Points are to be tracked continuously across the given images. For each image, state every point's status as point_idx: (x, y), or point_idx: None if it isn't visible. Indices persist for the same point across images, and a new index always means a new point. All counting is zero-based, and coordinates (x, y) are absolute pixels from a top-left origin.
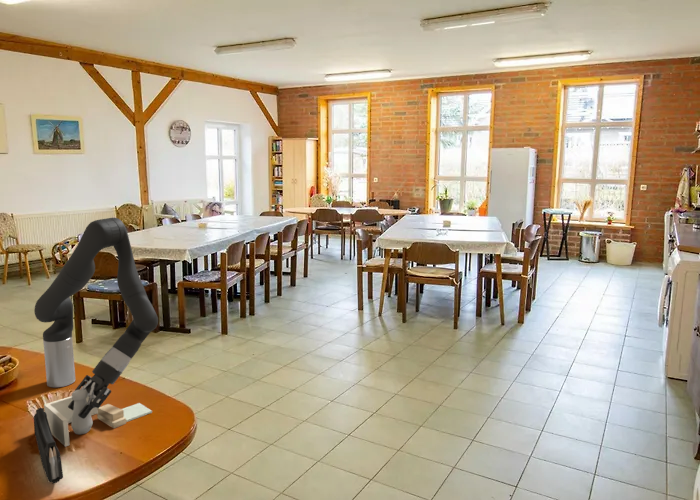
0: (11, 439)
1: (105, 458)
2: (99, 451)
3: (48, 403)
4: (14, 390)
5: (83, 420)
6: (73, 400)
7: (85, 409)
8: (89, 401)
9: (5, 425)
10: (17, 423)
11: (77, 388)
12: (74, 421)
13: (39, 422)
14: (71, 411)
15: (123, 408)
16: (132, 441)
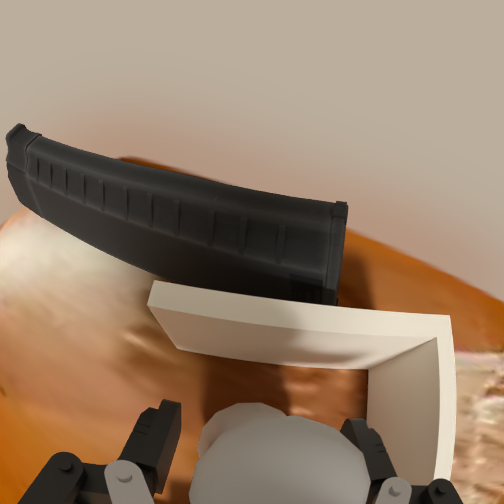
0: (381, 255)
1: (15, 347)
2: (51, 370)
3: (449, 336)
4: None
5: (204, 440)
6: (367, 454)
7: (140, 440)
8: (119, 483)
9: (462, 280)
10: (460, 305)
11: (447, 501)
12: (241, 408)
13: (220, 183)
14: (389, 449)
15: None
16: (23, 459)
